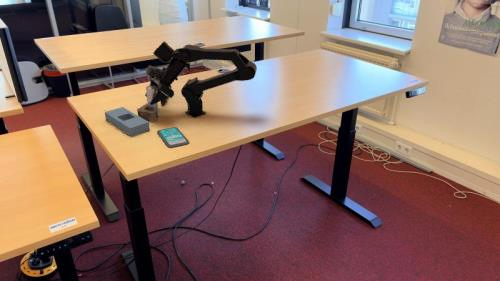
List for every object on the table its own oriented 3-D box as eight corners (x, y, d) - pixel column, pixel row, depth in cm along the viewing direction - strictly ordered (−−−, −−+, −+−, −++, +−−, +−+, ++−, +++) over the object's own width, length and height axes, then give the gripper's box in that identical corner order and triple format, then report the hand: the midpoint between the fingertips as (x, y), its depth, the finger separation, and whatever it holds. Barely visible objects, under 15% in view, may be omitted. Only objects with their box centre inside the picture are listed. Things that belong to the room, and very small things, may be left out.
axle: (160, 116, 158) (158, 87, 152) (152, 119, 156) (149, 89, 149) (155, 113, 161) (152, 84, 154) (147, 116, 158) (143, 86, 152)
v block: (151, 111, 163) (150, 102, 161) (157, 121, 154) (156, 112, 152) (136, 113, 160) (135, 105, 158) (141, 124, 151) (140, 115, 149)
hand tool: (163, 91, 185) (162, 82, 182) (171, 91, 185) (171, 82, 183) (156, 107, 168) (155, 97, 166) (165, 107, 168) (164, 97, 166)
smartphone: (168, 147, 134) (155, 130, 146) (168, 149, 135) (155, 132, 146) (190, 142, 138) (177, 126, 149) (191, 144, 138) (177, 128, 150)
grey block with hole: (149, 130, 147) (149, 122, 145) (131, 136, 142) (130, 128, 140) (123, 114, 159) (122, 106, 158) (105, 120, 154) (104, 112, 152)
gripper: (152, 52, 156) (128, 81, 157) (163, 65, 141) (136, 96, 142) (172, 69, 162) (149, 96, 163) (185, 82, 148) (159, 112, 148)
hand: (148, 100), depth 154 cm, fingers open, 9 cm apart
